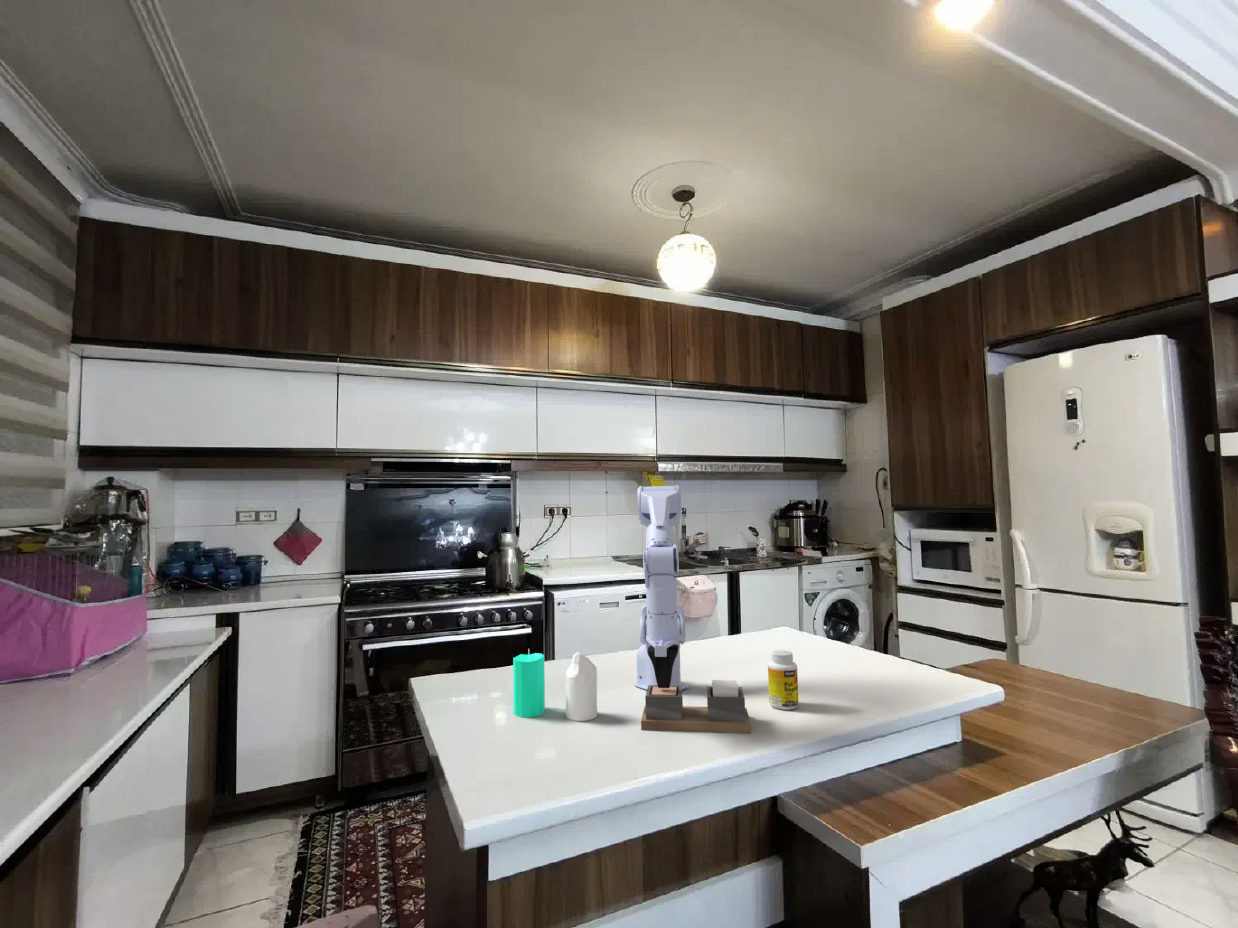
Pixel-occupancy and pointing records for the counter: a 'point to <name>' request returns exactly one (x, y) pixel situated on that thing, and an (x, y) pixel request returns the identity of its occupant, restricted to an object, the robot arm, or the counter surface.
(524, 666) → the candle
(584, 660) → the white bottle
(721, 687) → the white key
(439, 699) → the counter surface
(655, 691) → the clay key
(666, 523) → the robot arm
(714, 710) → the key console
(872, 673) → the counter surface
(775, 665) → the supplement bottle
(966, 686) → the counter surface
